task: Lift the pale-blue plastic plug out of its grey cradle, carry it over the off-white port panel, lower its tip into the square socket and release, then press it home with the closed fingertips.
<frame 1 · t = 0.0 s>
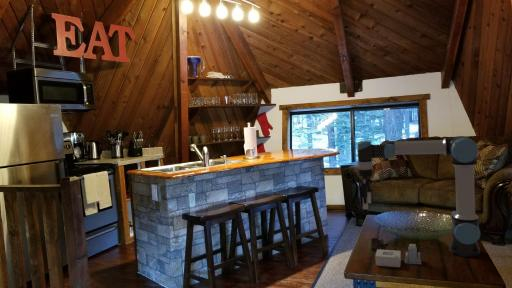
hand: (367, 206, 224), 28 cm above the table, fingers open, 13 cm apart
holster: (413, 263, 209), on the table
electronic device: (380, 251, 230), on the table
plug: (413, 261, 209), point 1 cm above the table, touching holster
port panel: (388, 264, 210), on the table
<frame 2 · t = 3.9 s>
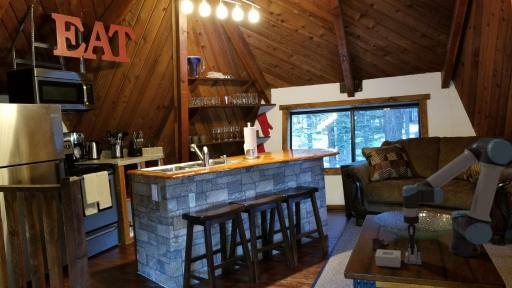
hand: (412, 258, 209), 3 cm above the table, fingers closed on plug, 3 cm apart
plug: (413, 261, 209), point 1 cm above the table, touching gripper, holster
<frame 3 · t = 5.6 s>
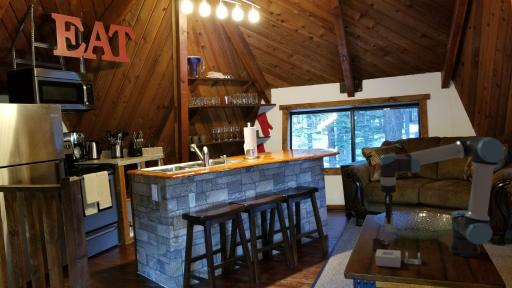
hand: (389, 228, 209), 19 cm above the table, fingers closed on plug, 3 cm apart
plug: (389, 231, 209), point 18 cm above the table, touching gripper
everything else where it was.
when the fingers open (7 cm above the table, at t = 7.4 s): plug drops 3 cm, resting on port panel.
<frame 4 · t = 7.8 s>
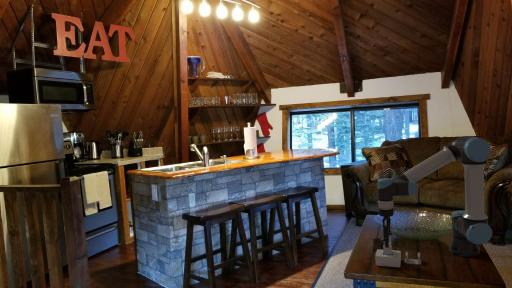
hand: (387, 250, 210), 8 cm above the table, fingers open, 8 cm apart
plug: (388, 259, 210), point 2 cm above the table, touching port panel
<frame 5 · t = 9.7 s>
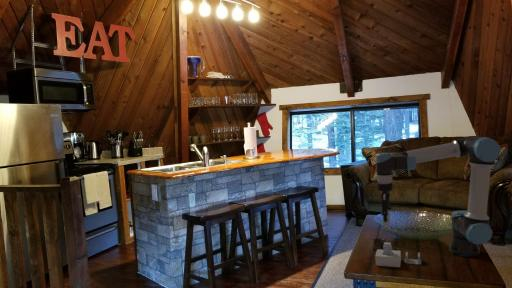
hand: (386, 224, 208), 22 cm above the table, fingers open, 9 cm apart
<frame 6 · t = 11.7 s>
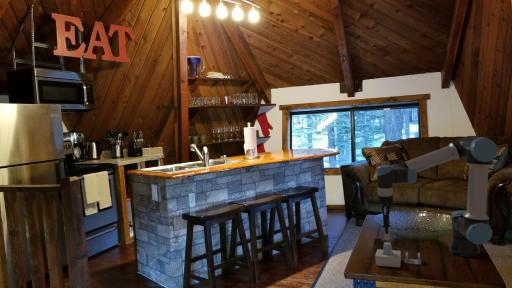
hand: (387, 239, 209), 14 cm above the table, fingers closed
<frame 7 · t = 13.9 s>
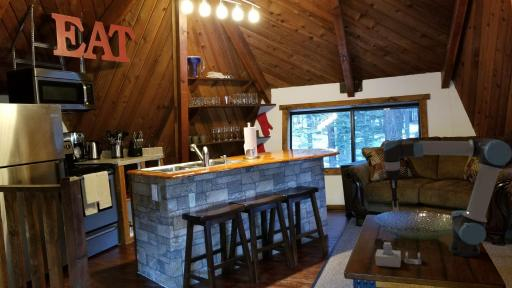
hand: (395, 212, 214), 26 cm above the table, fingers closed
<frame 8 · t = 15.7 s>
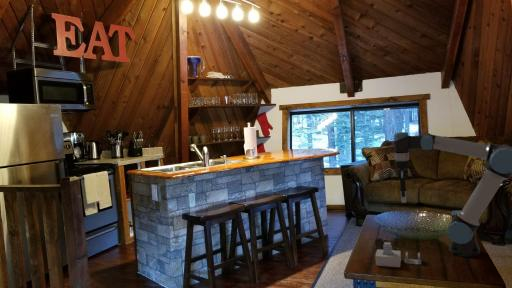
hand: (403, 202, 221), 29 cm above the table, fingers closed
at the end: plug 0.1 cm off-centre on the port panel, point 2.5 cm above the port panel's base; plug tilted 0°; the gripper is holding nothing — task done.
